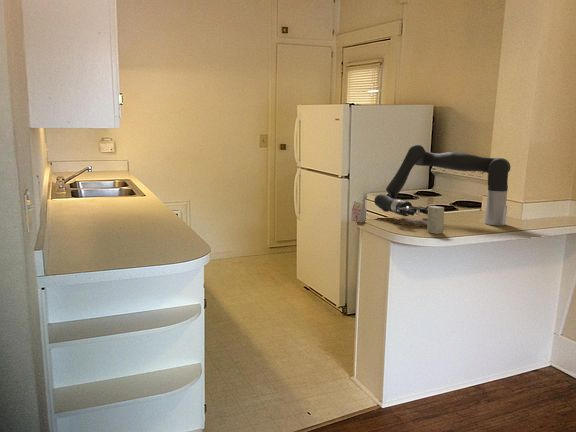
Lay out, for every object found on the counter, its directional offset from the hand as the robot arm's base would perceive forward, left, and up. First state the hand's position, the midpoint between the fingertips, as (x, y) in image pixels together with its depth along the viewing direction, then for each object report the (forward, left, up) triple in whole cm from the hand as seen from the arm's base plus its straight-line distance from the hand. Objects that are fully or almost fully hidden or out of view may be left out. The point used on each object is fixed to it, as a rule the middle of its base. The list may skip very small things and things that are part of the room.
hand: (421, 212), depth 246 cm
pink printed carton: (+31, +5, -8) cm, 33 cm away
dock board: (+5, -9, -7) cm, 13 cm away
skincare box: (-10, +6, -8) cm, 14 cm away
